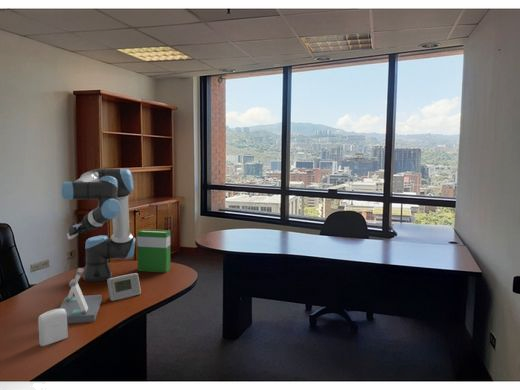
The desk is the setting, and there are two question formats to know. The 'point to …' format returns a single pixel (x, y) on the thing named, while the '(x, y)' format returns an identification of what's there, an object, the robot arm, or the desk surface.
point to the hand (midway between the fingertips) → (69, 236)
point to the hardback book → (153, 250)
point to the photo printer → (52, 326)
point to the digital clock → (123, 286)
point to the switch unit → (75, 312)
